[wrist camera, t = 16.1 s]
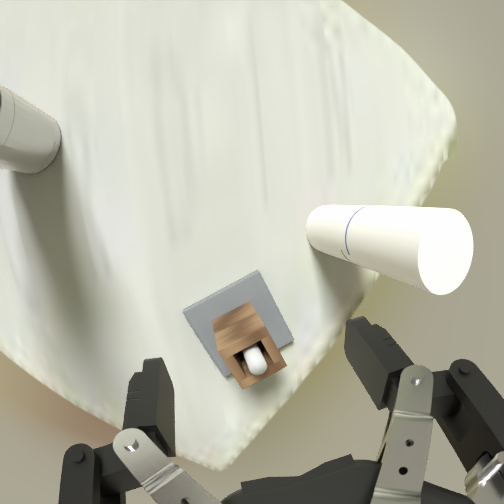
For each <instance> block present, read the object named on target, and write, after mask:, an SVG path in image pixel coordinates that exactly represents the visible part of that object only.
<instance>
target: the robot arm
mask: <svg viewBox="0 0 504 504" xmlns="http://www.w3.org/2000/svg"><path fill="white" fill-rule="evenodd" d="M60 141H61V132H60V128H59V125H58V123H57V122H56V121H55V119H54V118H52V117H51V116H49V115H48V114H46V113H45V112H43V111H42V110H40V109H39V108H37V107H36V106H34V105H33V104H31V103H29V102H28V101H26V100H25V99H23V98H22V97H20V96H18V95H17V94H15V93H14V92H12V91H11V90H9V89H7V88H6V87H4V86H2V85H1V84H0V169H5V170H11V171H16V172H22V173H28V174H34V173H38V172H40V171H42V170H44V169H45V168H47V167H48V166H49V165H50V164H51V162H52V161H53V160H54V158H55V156H56V154H57V152H58V150H59V146H60ZM344 349H345V354H346V357H347V359H348V361H349V362H350V364H351V366H352V367H353V369H354V371H355V372H356V374H357V375H358V377H359V379H360V380H361V382H362V384H363V385H364V387H365V389H366V390H367V392H368V394H369V395H370V396H371V399H372V400H373V402H374V403H375V405H376V407H377V409H378V410H381V409H383V408H386V407H387V408H388V410H389V411H390V412H389V415H388V419H387V423H386V427H385V431H384V435H383V439H382V442H381V446H380V449H379V452H378V456H377V458H376V461H371V460H353V458H352V455H351V454H349V455H347V456H344V457H341V458H338V459H335V460H331V461H328V462H325V463H324V464H321V465H320V466H318V467H316V468H314V469H312V470H311V471H309V472H307V473H305V474H303V475H301V476H295V477H267V478H262V479H256V480H251V481H245V482H241V487H242V489H240V490H237V491H235V492H233V493H232V494H230V495H229V496H227V497H226V498H224V499H223V500H222V501H221V502H220V501H218V500H217V499H216V498H215V497H213V496H212V495H211V494H210V493H209V492H208V491H206V490H205V489H204V488H203V487H202V486H201V485H199V484H198V483H197V482H196V481H195V480H194V479H192V478H191V477H190V476H189V475H188V474H187V473H186V472H185V471H184V470H183V469H182V468H181V467H179V466H178V465H175V464H174V463H173V462H172V461H171V460H170V459H168V457H175V456H176V454H175V414H174V388H173V384H172V381H171V378H170V376H169V374H168V371H167V369H166V366H165V364H164V361H163V359H162V358H161V357H160V358H153V359H145V360H144V362H143V370H142V372H137V373H134V375H133V376H132V378H131V380H130V381H129V386H128V393H127V401H126V407H125V414H124V423H123V430H122V431H121V432H120V433H118V434H117V435H116V437H115V438H114V440H113V443H111V444H108V445H106V446H103V447H99V448H96V449H92V448H91V447H90V446H88V445H86V444H75V445H73V446H71V447H70V448H69V449H68V450H67V451H66V452H65V455H64V459H63V466H62V474H61V483H60V493H59V504H126V496H125V492H126V491H129V490H132V489H136V488H139V487H142V486H143V487H144V489H145V490H146V492H147V493H148V494H149V495H150V496H151V497H152V498H153V499H154V500H155V502H156V503H157V504H504V399H503V398H502V396H501V395H500V394H499V393H498V391H497V390H496V389H495V388H494V386H493V385H492V384H491V383H490V381H489V380H488V379H487V378H486V377H485V375H484V374H483V373H482V372H481V371H480V369H479V368H478V367H477V366H476V365H475V364H474V363H473V362H471V361H469V360H466V359H459V360H456V361H454V362H453V363H452V364H451V366H450V368H449V370H444V371H437V372H431V371H430V370H429V369H428V368H426V367H424V366H421V365H414V363H413V362H412V361H411V360H410V358H409V357H408V356H407V355H406V354H405V352H404V351H403V350H402V349H401V347H400V346H399V345H398V344H396V341H395V340H394V339H393V338H392V337H391V335H390V334H389V333H388V332H387V331H386V330H385V329H384V328H382V327H380V326H379V325H377V324H374V325H371V324H370V323H369V322H368V320H367V319H366V318H365V317H364V316H361V317H358V318H354V319H350V320H347V322H346V331H345V344H344ZM434 418H435V419H436V420H437V422H438V424H439V425H440V427H441V428H442V430H443V432H444V433H445V435H446V437H447V438H448V440H449V442H450V444H451V445H452V447H453V449H454V450H455V452H456V454H457V456H458V457H459V459H460V461H461V462H462V464H463V466H464V468H465V469H466V471H467V475H466V477H465V487H466V488H465V491H466V493H467V496H465V495H462V494H460V493H456V492H454V491H450V490H448V489H445V488H442V487H439V486H437V485H434V484H431V483H429V482H426V481H423V480H424V475H425V470H426V465H427V460H428V454H429V447H430V441H431V434H432V426H433V419H434Z"/></svg>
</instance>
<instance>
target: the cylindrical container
mask: <svg viewBox="0 0 504 504" xmlns="http://www.w3.org/2000/svg"><path fill="white" fill-rule="evenodd" d="M306 236H307V239H308V241H309V243H310V244H311V245H312V246H313V247H314V248H315V249H316V250H318V251H321V252H323V253H326V254H329V255H332V256H334V257H337V258H340V259H343V260H345V261H348V262H351V263H354V264H356V265H359V266H362V267H365V268H367V269H370V270H373V271H376V272H378V273H381V274H384V275H386V276H390V277H392V278H394V279H397V280H400V281H403V282H405V283H408V284H411V285H413V286H416V287H419V288H421V289H424V290H426V291H429V292H432V293H434V294H437V295H444V294H448V293H450V292H452V291H454V290H455V289H456V288H457V287H458V286H459V285H460V284H461V283H462V281H463V280H464V278H465V277H466V275H467V273H468V270H469V267H470V264H471V261H472V255H473V237H472V232H471V229H470V226H469V224H468V222H467V220H466V218H465V217H464V216H463V215H462V214H461V213H460V212H459V211H457V210H454V209H449V208H429V207H404V206H368V205H323V206H320V207H318V208H316V209H315V210H314V211H313V212H312V213H311V214H310V216H309V217H308V220H307V223H306Z"/></svg>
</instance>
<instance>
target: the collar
mask: <svg viewBox="0 0 504 504" xmlns="http://www.w3.org/2000/svg"><path fill="white" fill-rule="evenodd" d="M212 325H213V330H214V335H215V340H216V345H217V350H218V353H219V354H220V356H221V357H222V359H223V360H224V362H225V364H226V365H227V367H228V368H229V370H230V371H231V373H232V374H233V376H234V377H235V379H236V380H237V382H238V383H239V385H240V386H241V388H242V389H244V388H246V387H248V386H250V385H252V384H254V383H256V382H258V381H260V380H262V379H264V378H266V377H268V376H269V375H271V374H273V373H275V372H277V371H279V370H281V369H282V368H284V367H286V366H287V364H286V363H285V361H284V359H283V357H282V355H281V354H280V352H279V350H278V348H277V346H276V345H275V343H274V341H273V339H272V337H271V335H270V334H269V332H268V330H267V328H266V326H265V325H264V323H263V322H262V320H261V318H260V317H259V315H258V314H257V312H256V310H255V309H254V307H253V306H252V304H251V303H250V301H248V302H246V303H244V304H243V305H241V306H239V307H237V308H235V309H233V310H231V311H229V312H228V313H226V314H224V315H222V316H220V317H218V318H216V319H214V320H212ZM254 343H257V345H258V347H259V349H260V351H261V353H262V355H263V357H264V359H265V361H266V363H267V369H266V371H265V372H264V373H263V374H260V375H254V374H252V373H251V372H250V370H249V368H248V365H247V362H246V360H245V357H244V354H243V352H242V350H243V349H245V348H247V347H249V346H251V345H252V344H254Z"/></svg>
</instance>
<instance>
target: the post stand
mask: <svg viewBox="0 0 504 504" xmlns="http://www.w3.org/2000/svg"><path fill="white" fill-rule="evenodd" d="M248 301H250V303H251V304H252V306H253V307H254V309H255V310H256V312H257V314H258V315H259V317H260V318H261V320H262V322H263V323H264V325H265V326H266V328H267V330H268V332H269V334H270V335H271V337H272V339H273V341H274V343H275V345H276V346H277V348H278V349H279V348H280V347H282V346H284V345H286V344H288V343H289V342H291V341H293V340H294V338H293V336H292V334H291V332H290V330H289V328H288V327H287V325H286V323H285V321H284V319H283V317H282V315H281V313H280V311H279V309H278V307H277V305H276V303H275V301H274V299H273V297H272V295H271V293H270V291H269V289H268V288H267V286H266V284H265V282H264V280H263V278H262V276H261V274H260V272H259V271H258V270H256V271H254V272H252V273H250V274H249V275H247V276H245V277H243V278H241V279H239V280H238V281H236V282H234V283H232V284H230V285H228V286H226V287H225V288H223V289H221V290H219V291H217V292H215V293H213V294H211V295H210V296H208V297H206V298H204V299H202V300H200V301H198V302H196V303H195V304H193V305H191V306H189V307H187V308H185V309H183V313H184V315H185V317H186V318H187V320H188V322H189V323H190V325H191V326H192V328H193V330H194V331H195V333H196V334H197V336H198V338H199V339H200V341H201V342H202V344H203V345H204V347H205V349H206V350H207V352H208V353H209V355H210V356H211V358H212V359H213V361H214V362H215V364H216V365H217V367H218V368H219V370H220V371H221V373H222V374H223V376H224V377H226V376H228V375H230V374H232V373H231V371H230V370H229V368H228V367H227V365H226V364H225V362H224V360H223V359H222V357H221V356H220V354H219V353H218V350H217V345H216V340H215V335H214V330H213V325H212V320H214V319H216V318H218V317H220V316H222V315H224V314H226V313H228V312H229V311H231V310H233V309H235V308H237V307H239V306H241V305H243V304H244V303H246V302H248ZM242 352H243V354H244V357H245V360H246V362H247V365H248V368H249V370H250V372H251V373H252V374H254V375H260V374H263V373H264V372H265V371H266V369H267V363H266V361H265V359H264V357H263V355H262V353H261V351H260V349H259V347H258V345H257V343H254V344H252V345H251V346H249V347H247V348H245V349H243V350H242Z"/></svg>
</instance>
